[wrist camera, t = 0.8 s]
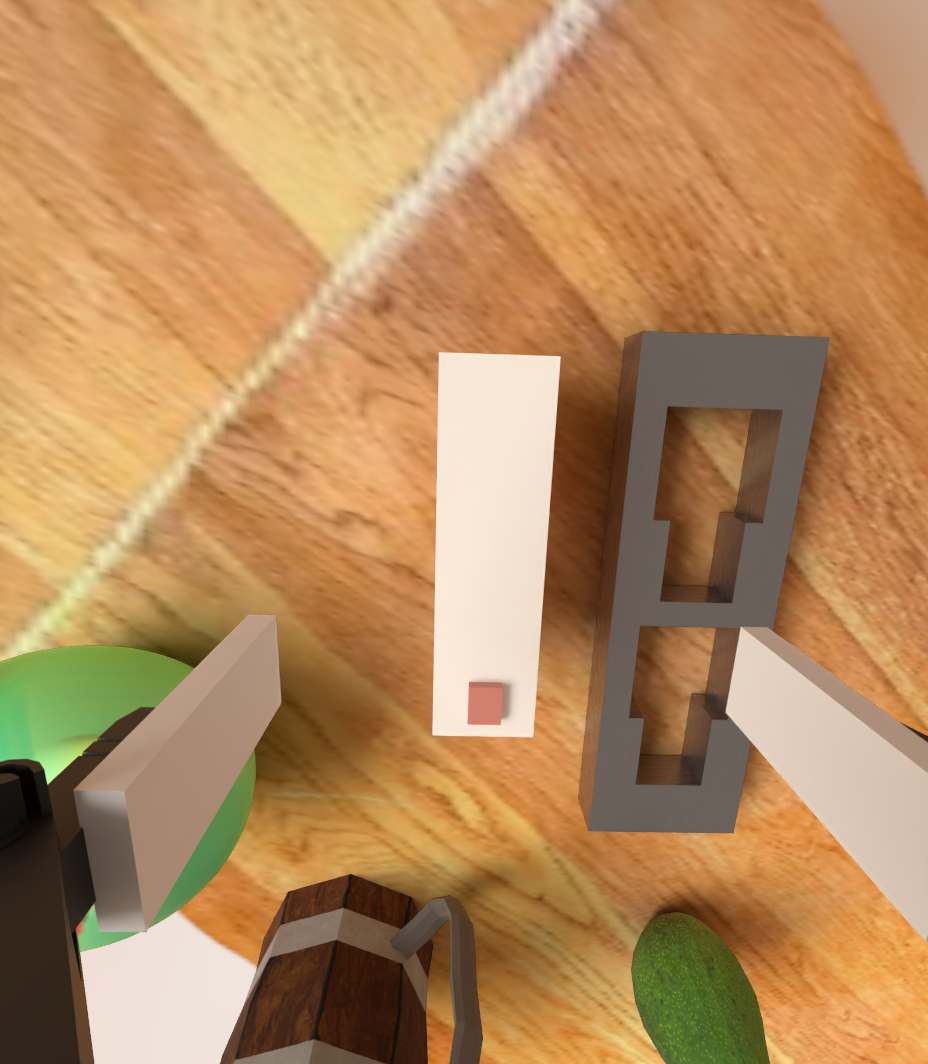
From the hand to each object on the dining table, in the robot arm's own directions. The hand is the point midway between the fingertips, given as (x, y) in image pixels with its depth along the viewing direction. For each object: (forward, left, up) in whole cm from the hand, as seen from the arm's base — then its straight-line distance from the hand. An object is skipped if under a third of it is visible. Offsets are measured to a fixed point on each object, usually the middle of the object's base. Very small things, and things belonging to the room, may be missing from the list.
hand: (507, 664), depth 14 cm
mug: (+33, -7, -19) cm, 38 cm away
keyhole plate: (+5, +13, -18) cm, 23 cm away
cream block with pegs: (0, 0, -18) cm, 18 cm away
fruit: (+33, +16, -19) cm, 41 cm away
